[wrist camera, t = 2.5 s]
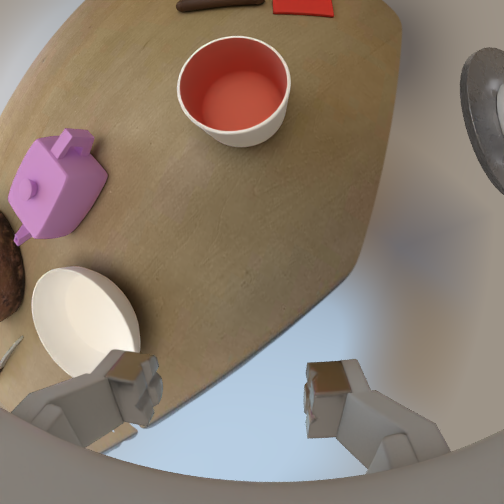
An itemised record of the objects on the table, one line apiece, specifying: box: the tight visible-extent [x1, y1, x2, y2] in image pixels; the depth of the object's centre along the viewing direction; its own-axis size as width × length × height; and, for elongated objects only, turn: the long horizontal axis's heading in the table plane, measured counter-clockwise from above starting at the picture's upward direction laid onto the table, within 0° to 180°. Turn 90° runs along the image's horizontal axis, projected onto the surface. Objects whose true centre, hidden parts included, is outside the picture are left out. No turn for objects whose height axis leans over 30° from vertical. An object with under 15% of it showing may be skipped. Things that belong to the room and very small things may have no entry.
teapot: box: [8, 128, 108, 246], centre depth 30 cm, size 18×10×10 cm, turn 136°
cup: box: [177, 36, 291, 147], centre depth 26 cm, size 10×10×10 cm
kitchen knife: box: [0, 335, 24, 372], centre depth 43 cm, size 4×1×30 cm
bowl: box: [32, 266, 141, 378], centre depth 35 cm, size 18×18×7 cm
